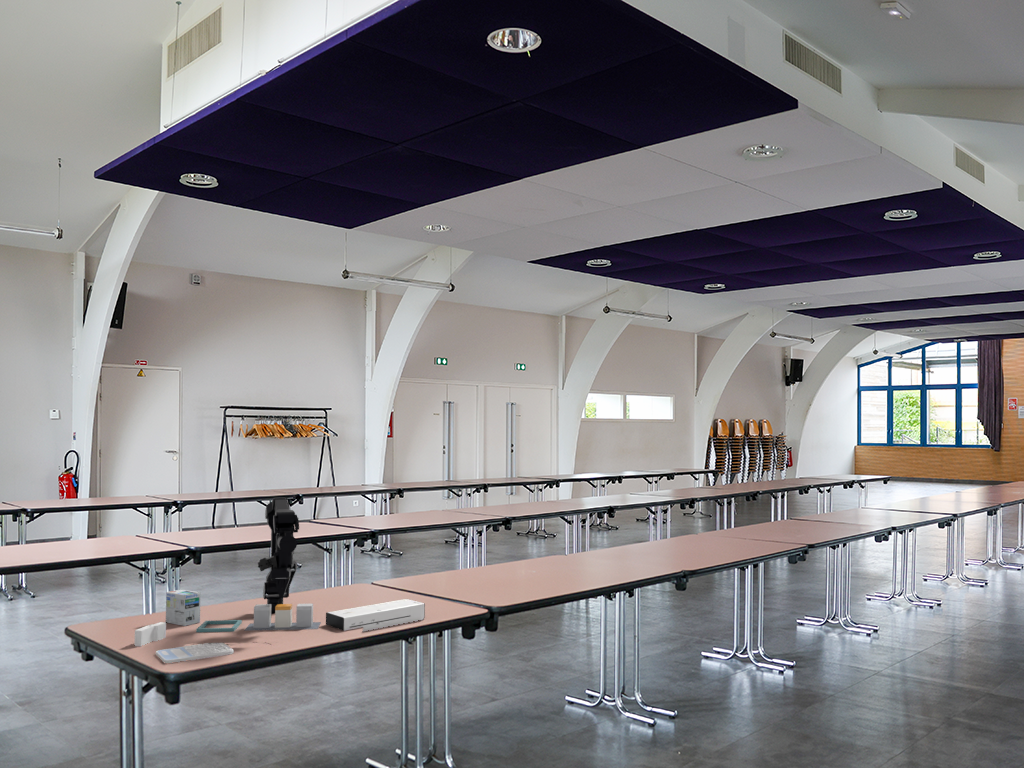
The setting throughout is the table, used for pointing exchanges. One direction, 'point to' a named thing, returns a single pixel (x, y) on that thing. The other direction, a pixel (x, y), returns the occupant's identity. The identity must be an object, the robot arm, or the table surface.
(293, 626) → the board
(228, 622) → the teal tray
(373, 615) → the laminator
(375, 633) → the table surface
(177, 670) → the table surface
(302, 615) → the block
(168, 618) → the light bulb box
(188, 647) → the calculator
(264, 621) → the block
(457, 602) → the table surface
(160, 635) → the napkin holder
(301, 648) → the table surface
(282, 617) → the block
